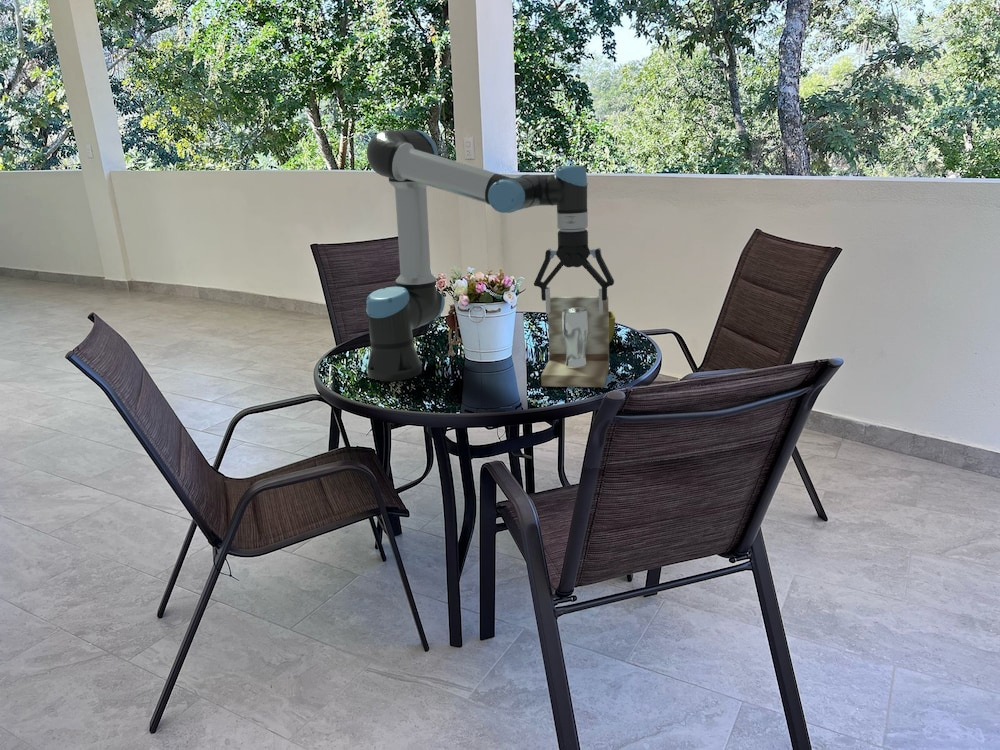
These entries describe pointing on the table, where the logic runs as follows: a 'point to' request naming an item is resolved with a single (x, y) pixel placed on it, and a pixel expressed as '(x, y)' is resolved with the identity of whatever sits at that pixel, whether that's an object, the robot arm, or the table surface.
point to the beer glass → (575, 336)
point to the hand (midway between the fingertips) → (574, 312)
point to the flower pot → (611, 325)
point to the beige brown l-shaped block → (595, 347)
